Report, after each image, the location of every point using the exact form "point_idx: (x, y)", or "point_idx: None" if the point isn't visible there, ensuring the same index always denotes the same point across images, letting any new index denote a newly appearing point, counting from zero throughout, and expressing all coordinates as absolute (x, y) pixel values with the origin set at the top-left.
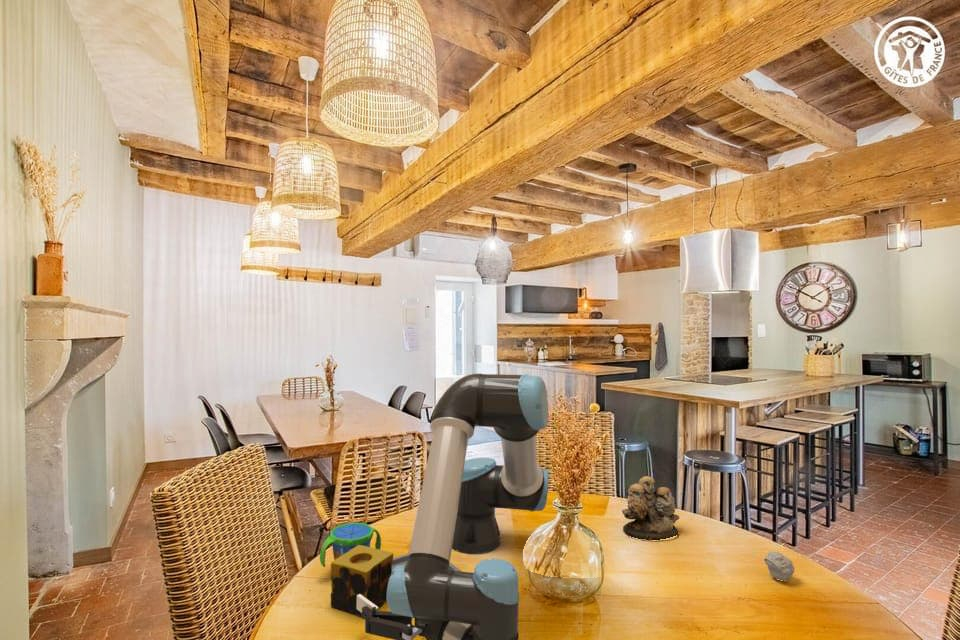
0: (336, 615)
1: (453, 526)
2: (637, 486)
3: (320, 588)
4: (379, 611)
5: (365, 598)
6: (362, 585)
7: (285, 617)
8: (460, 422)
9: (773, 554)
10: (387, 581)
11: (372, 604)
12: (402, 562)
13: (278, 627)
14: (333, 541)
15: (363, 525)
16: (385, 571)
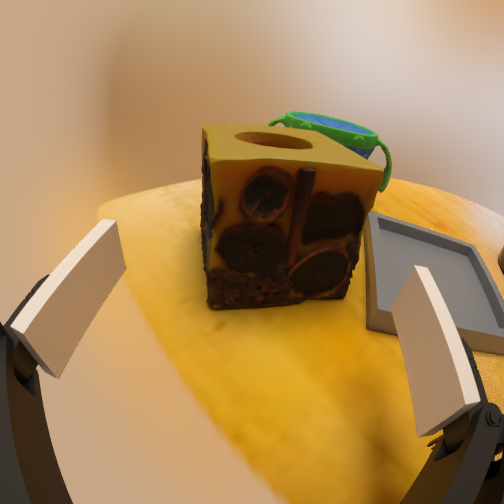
0: (181, 252)
1: None
2: None
3: None
4: (1, 355)
5: (85, 248)
6: (213, 209)
7: (136, 205)
8: None
9: None
10: (331, 251)
11: (45, 295)
12: (415, 239)
13: (107, 213)
14: (281, 119)
15: (364, 129)
16: (334, 216)
